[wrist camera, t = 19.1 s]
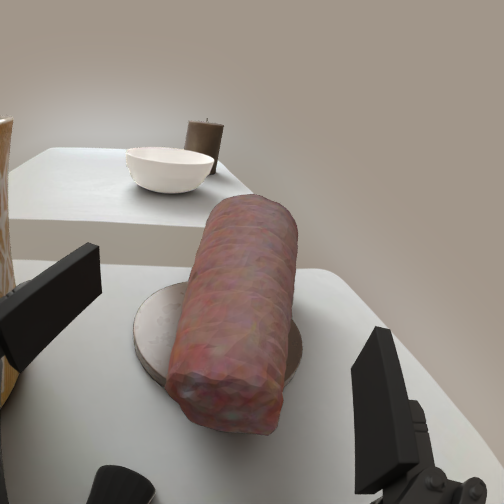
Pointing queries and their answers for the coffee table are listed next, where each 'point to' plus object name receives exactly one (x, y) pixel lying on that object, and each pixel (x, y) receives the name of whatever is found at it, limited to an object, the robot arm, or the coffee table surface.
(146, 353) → the cake board
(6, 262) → the planter
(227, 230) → the food
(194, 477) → the coffee table surface
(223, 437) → the coffee table surface
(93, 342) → the coffee table surface
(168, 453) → the coffee table surface
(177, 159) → the bowl
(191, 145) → the pillar candle
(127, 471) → the kitchen cleaver
